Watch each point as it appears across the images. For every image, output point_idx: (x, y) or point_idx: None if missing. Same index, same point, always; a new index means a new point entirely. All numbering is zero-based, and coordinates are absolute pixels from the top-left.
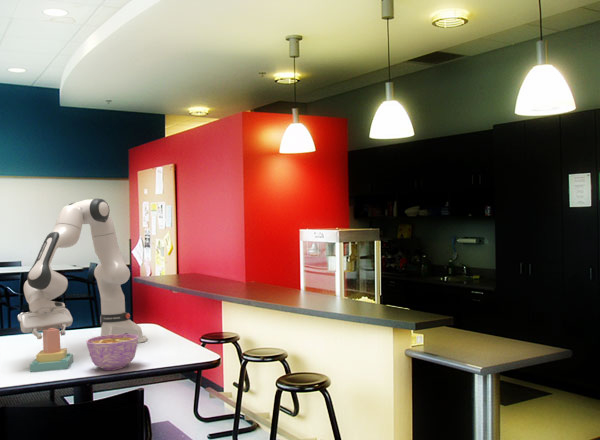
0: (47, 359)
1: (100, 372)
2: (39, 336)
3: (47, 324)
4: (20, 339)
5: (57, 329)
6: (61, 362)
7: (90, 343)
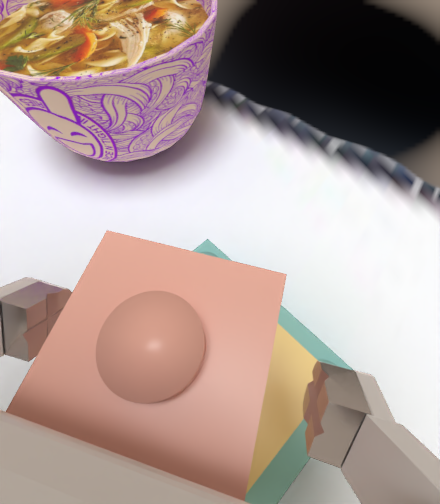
0: None
1: (199, 124)
2: (357, 371)
3: (131, 465)
4: None
5: (114, 258)
6: (228, 259)
7: (216, 11)
